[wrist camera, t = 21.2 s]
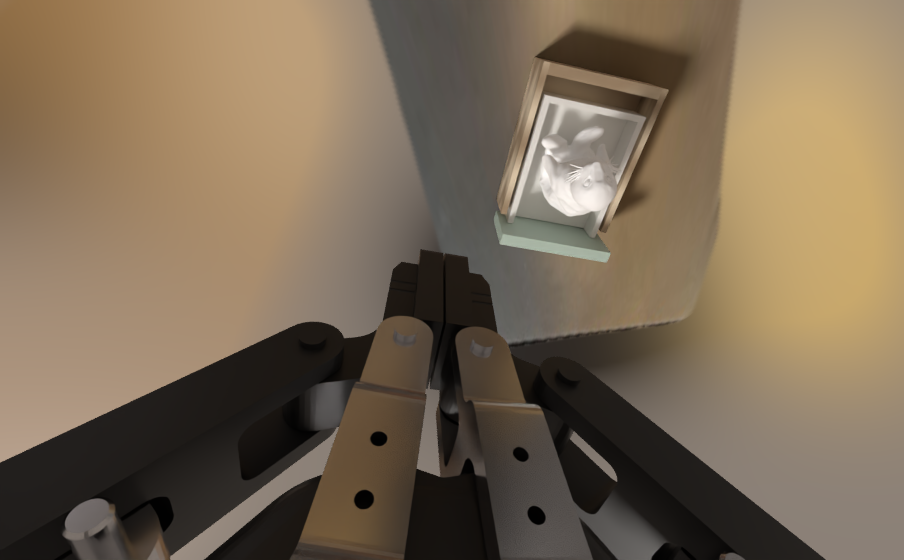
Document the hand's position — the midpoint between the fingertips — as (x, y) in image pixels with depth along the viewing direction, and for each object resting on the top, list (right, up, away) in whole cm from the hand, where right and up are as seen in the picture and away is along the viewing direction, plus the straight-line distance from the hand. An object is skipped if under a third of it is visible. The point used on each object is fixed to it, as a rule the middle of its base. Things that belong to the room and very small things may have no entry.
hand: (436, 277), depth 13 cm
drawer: (+13, +12, +32) cm, 37 cm away
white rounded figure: (+13, +12, +32) cm, 36 cm away
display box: (+13, +15, +32) cm, 38 cm away
